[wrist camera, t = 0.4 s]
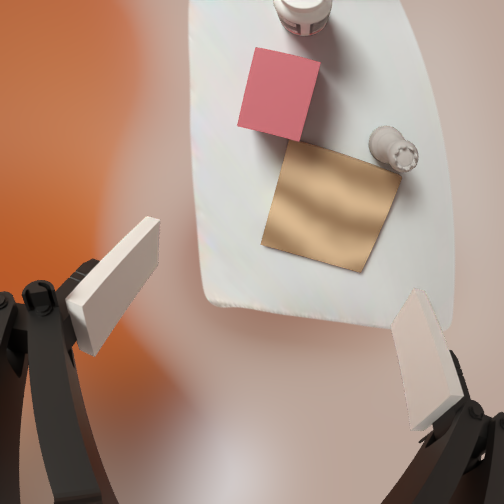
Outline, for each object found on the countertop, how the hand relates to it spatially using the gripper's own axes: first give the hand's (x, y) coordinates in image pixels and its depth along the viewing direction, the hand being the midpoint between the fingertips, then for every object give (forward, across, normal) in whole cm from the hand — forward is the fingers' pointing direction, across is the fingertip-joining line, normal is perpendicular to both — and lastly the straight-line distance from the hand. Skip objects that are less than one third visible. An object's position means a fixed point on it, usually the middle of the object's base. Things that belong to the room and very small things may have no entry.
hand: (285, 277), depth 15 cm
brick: (+24, -4, +8) cm, 25 cm away
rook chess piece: (+24, +9, +5) cm, 26 cm away
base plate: (+23, +5, -5) cm, 24 cm away
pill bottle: (+24, -4, +18) cm, 30 cm away
